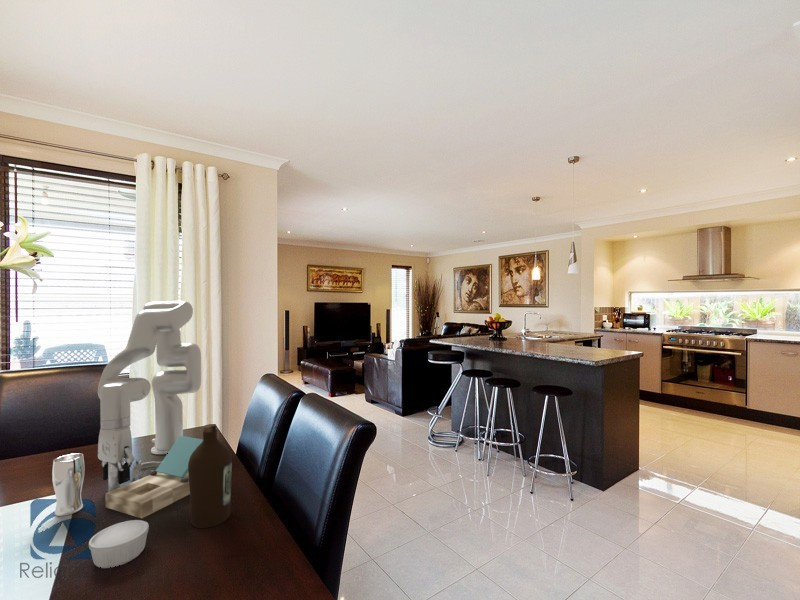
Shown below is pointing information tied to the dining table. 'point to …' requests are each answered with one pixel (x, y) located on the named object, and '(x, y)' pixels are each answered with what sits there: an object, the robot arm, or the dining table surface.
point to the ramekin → (118, 543)
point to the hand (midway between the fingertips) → (116, 479)
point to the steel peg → (113, 476)
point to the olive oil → (210, 480)
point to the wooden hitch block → (148, 494)
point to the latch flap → (179, 456)
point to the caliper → (143, 468)
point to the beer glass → (68, 483)
